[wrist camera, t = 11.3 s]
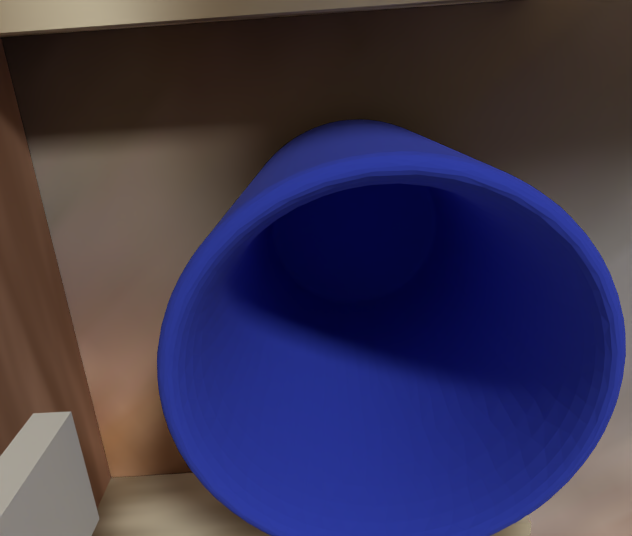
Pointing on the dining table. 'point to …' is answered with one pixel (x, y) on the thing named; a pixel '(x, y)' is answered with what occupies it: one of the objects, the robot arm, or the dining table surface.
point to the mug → (389, 342)
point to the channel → (47, 289)
